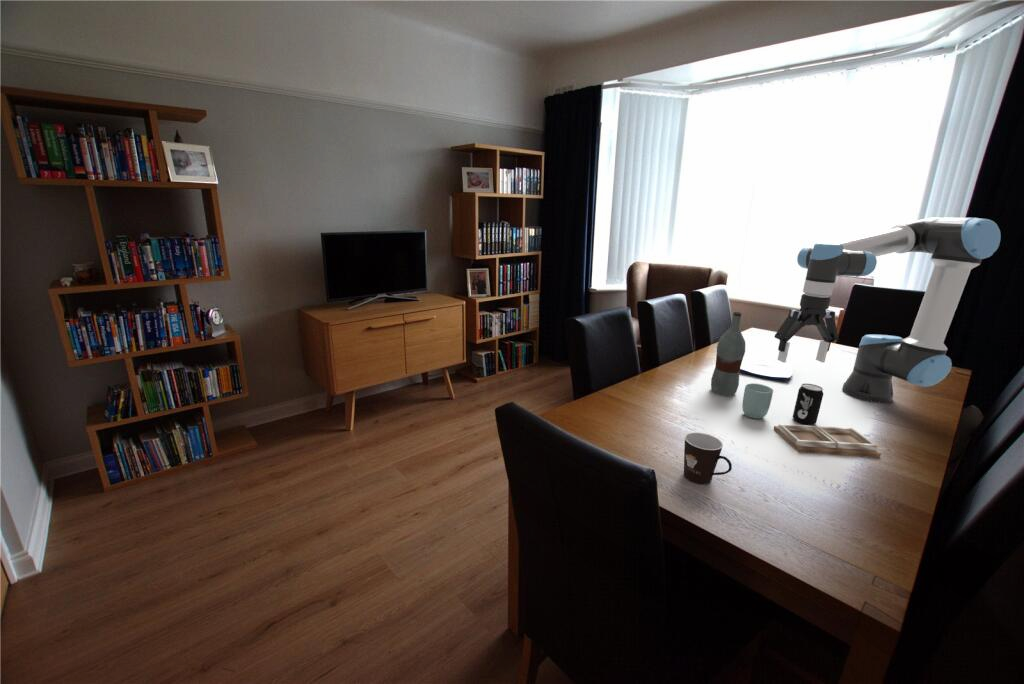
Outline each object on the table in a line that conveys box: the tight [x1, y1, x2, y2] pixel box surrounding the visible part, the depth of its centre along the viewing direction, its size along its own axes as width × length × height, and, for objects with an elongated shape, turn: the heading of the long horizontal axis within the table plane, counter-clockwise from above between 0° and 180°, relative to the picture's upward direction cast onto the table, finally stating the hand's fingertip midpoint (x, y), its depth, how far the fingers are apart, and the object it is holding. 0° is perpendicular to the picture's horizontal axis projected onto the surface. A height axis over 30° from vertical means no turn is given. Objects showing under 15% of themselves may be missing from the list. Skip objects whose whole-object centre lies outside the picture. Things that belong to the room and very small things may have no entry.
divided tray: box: [773, 423, 882, 458], centre depth 133 cm, size 22×14×3 cm, turn 87°
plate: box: [739, 356, 793, 380], centre depth 192 cm, size 20×20×3 cm
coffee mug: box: [683, 432, 733, 485], centre depth 110 cm, size 12×9×10 cm
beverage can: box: [792, 382, 824, 426], centre depth 145 cm, size 7×7×12 cm
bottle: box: [710, 311, 746, 397], centre depth 164 cm, size 9×9×30 cm
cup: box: [741, 382, 774, 420], centre depth 148 cm, size 8×8×10 cm
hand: (800, 361), depth 145 cm, fingers open, 13 cm apart
